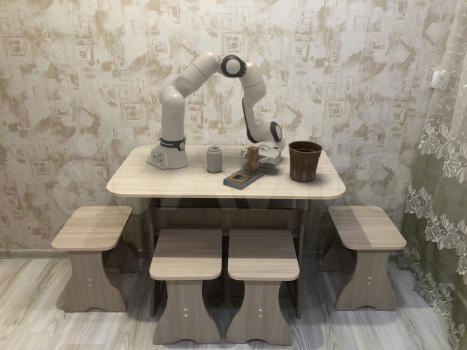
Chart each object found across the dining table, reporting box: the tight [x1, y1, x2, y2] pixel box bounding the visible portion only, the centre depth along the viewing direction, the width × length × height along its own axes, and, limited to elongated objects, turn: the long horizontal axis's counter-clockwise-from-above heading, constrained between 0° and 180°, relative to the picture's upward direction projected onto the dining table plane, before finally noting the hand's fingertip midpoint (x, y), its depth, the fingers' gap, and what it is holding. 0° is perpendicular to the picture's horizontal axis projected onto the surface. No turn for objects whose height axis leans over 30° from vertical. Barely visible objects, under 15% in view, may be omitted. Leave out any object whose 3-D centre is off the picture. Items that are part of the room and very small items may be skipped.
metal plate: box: [222, 165, 268, 191], centre depth 190 cm, size 10×24×3 cm, turn 147°
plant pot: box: [287, 140, 324, 183], centre depth 189 cm, size 16×16×16 cm
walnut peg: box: [246, 145, 259, 173], centre depth 192 cm, size 4×4×14 cm
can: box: [206, 145, 223, 174], centre depth 196 cm, size 8×8×12 cm
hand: (251, 159), depth 191 cm, fingers open, 8 cm apart
